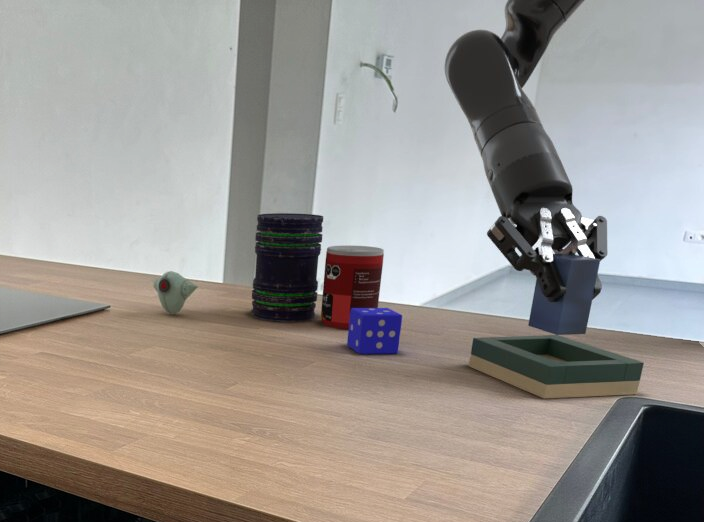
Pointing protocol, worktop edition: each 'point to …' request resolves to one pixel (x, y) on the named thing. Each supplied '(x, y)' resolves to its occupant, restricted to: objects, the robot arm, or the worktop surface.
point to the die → (374, 330)
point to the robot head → (173, 291)
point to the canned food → (350, 282)
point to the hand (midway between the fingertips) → (575, 296)
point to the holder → (555, 366)
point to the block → (567, 297)
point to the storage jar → (286, 266)
